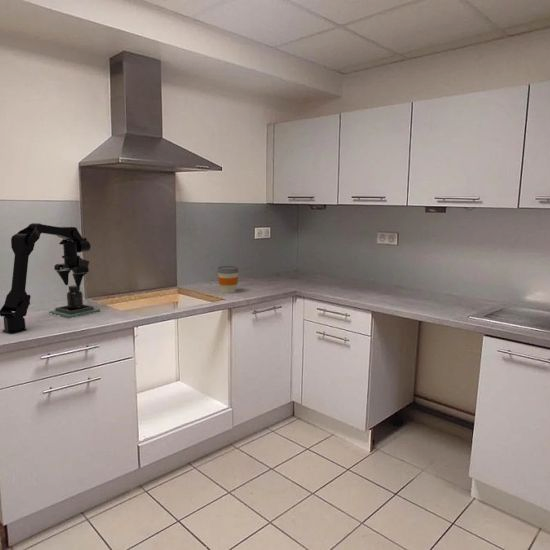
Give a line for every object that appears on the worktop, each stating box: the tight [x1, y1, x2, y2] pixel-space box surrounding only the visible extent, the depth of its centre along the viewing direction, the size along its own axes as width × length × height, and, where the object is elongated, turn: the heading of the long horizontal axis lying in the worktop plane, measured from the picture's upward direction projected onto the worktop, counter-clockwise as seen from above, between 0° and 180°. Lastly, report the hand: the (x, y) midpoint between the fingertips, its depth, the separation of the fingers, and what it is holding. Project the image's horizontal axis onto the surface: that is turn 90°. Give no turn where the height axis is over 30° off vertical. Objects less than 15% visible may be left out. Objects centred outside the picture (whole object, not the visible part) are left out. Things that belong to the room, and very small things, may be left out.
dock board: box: [48, 303, 101, 319], centre depth 206 cm, size 16×16×2 cm
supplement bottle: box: [66, 284, 84, 311], centre depth 205 cm, size 7×7×12 cm
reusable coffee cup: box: [217, 265, 239, 294], centre depth 259 cm, size 13×13×15 cm
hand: (72, 286), depth 204 cm, fingers open, 9 cm apart
